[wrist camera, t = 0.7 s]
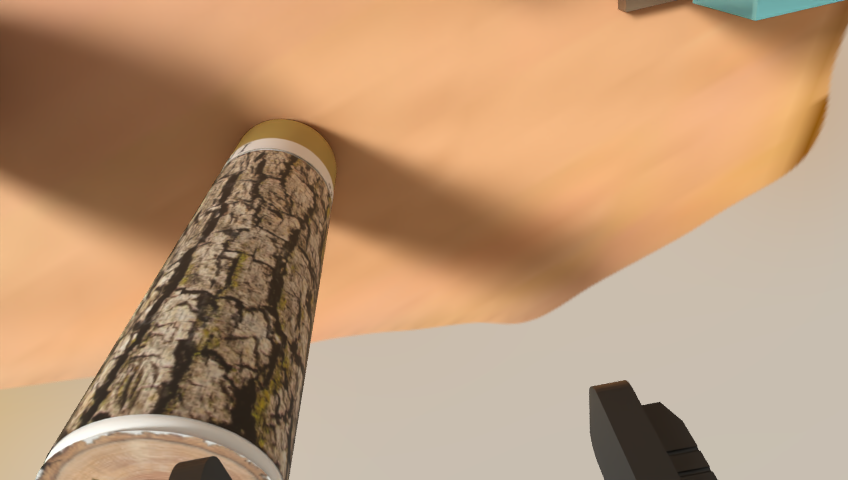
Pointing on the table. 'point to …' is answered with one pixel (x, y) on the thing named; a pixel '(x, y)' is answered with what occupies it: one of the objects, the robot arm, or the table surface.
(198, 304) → the paper tube
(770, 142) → the table surface
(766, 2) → the socket
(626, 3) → the rig base
